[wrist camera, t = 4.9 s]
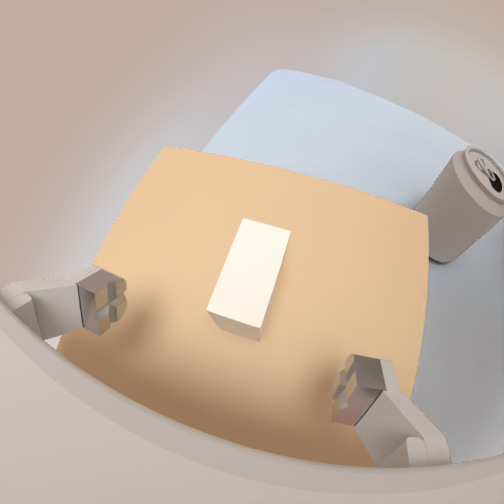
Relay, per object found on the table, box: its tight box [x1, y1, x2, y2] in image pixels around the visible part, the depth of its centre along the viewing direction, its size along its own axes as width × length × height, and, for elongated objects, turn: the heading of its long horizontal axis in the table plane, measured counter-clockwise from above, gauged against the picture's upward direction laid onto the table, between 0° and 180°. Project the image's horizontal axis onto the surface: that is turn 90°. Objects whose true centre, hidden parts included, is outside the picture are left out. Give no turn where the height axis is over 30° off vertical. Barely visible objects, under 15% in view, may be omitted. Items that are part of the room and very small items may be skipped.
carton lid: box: [56, 146, 429, 467], centre depth 13 cm, size 18×20×6 cm
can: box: [414, 146, 504, 262], centre depth 21 cm, size 8×8×12 cm
